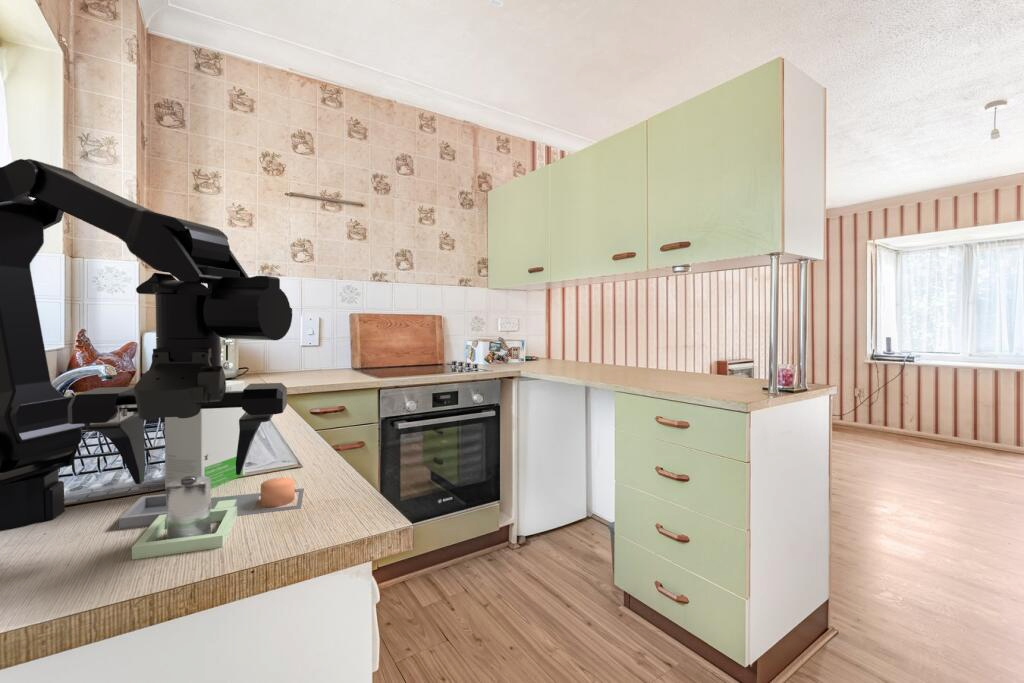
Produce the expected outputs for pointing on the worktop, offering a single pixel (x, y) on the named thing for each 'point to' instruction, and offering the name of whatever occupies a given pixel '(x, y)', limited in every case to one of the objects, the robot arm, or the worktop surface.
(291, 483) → the cylinder
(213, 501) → the checker plate
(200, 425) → the skincare box
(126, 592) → the worktop surface
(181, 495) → the cell
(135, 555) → the pale green square tray
